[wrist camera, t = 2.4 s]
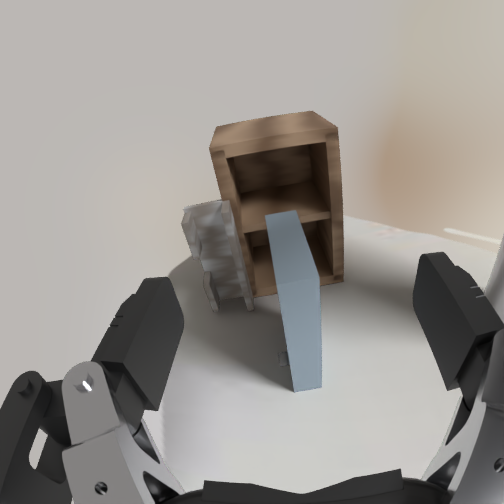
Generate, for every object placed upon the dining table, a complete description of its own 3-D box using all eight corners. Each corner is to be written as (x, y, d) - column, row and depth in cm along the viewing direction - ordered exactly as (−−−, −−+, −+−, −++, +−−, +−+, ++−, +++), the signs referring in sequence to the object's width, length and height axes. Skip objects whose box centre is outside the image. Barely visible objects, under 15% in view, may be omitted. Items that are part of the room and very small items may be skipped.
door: (307, 320, 38) (295, 209, 29) (321, 387, 30) (319, 277, 21) (276, 326, 38) (254, 217, 29) (285, 393, 30) (262, 287, 21)
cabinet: (324, 236, 52) (312, 110, 40) (349, 295, 40) (346, 133, 27) (219, 255, 53) (184, 134, 41) (215, 318, 41) (161, 167, 29)
